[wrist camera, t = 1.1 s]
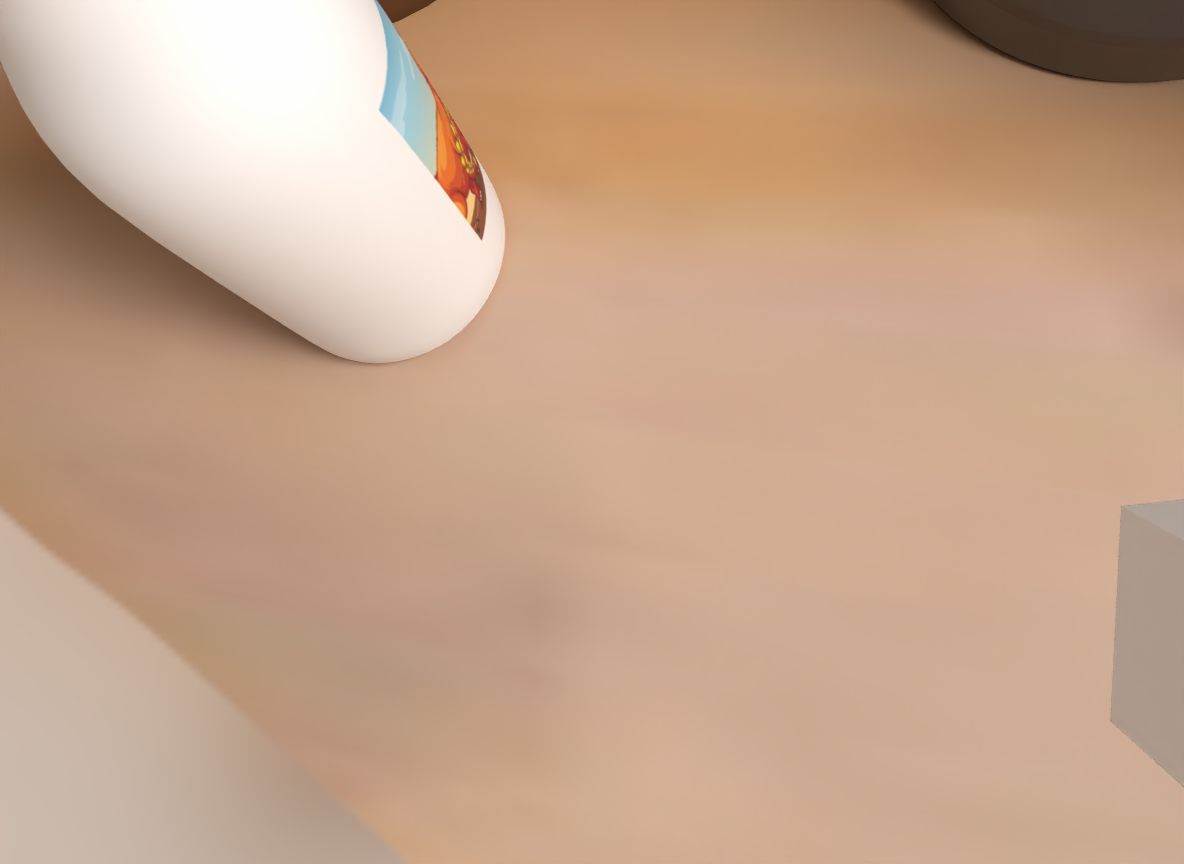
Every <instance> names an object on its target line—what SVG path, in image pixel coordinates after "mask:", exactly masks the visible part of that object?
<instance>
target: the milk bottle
mask: <svg viewBox="0 0 1184 864" xmlns="http://www.w3.org/2000/svg"><path fill="white" fill-rule="evenodd" d="M0 62H1V64H2V66H3V69H4V71H5V73H6V76H7V78H8V80H9V82H10V84H11V86H12V88H13V90H14V92H15V94H16V96H17V98H18V100H19V103H20V105H21V107H22V109H23V110H24V112H25V113H26V115H27V117H28V118H29V120H30V121H31V123H32V124H33V126H34V127H35V129H36V131H37V132H38V134H39V135H40V137H41V138H42V140H43V141H44V142H45V143H46V145H47V146H48V147H49V148H50V150H51V151H52V152H53V153H54V154H55V156H56V157H57V158H58V159H59V160H60V162H61V163H62V164H63V165H64V166H65V167H66V169H67V170H68V171H70V172H71V173H72V174H73V175H74V176H75V177H76V178H77V179H78V180H79V181H80V182H81V183H82V184H83V185H84V186H85V187H86V188H87V189H88V190H89V191H91V192H92V193H93V194H94V195H95V196H96V197H97V198H98V199H99V200H101V201H102V202H103V203H105V204H106V205H107V206H108V207H110V208H111V209H112V210H114V211H115V212H117V213H118V214H119V215H121V216H122V217H123V218H125V219H126V220H127V221H129V222H130V223H131V224H133V225H134V226H136V227H137V228H138V229H140V230H141V231H142V232H144V233H145V234H146V235H148V236H149V237H151V238H152V239H153V240H155V241H156V242H158V243H159V244H161V245H162V246H164V247H165V248H167V249H168V250H170V251H171V252H173V253H174V254H176V255H177V256H179V257H180V258H182V259H183V260H185V261H186V262H188V263H189V264H191V265H192V266H194V267H195V268H197V269H198V270H200V271H201V272H203V273H204V274H206V275H207V276H209V277H210V278H212V279H213V280H215V281H216V282H218V283H219V284H221V285H222V286H224V287H226V288H227V289H229V290H230V291H232V292H233V293H235V294H236V295H238V296H239V297H241V298H243V299H244V300H246V301H247V302H249V303H250V304H252V305H253V306H255V307H256V308H258V309H260V310H261V311H263V312H264V313H266V314H267V315H269V316H270V317H272V318H273V319H275V320H277V321H278V322H280V323H281V324H283V325H284V326H286V327H288V328H289V329H291V330H292V331H294V332H295V333H297V334H299V335H300V336H302V337H303V338H305V339H307V340H308V341H310V342H311V343H313V344H315V345H317V346H319V347H320V348H322V349H324V350H326V351H328V352H330V353H332V354H334V355H337V356H339V357H342V358H345V359H349V360H353V361H357V362H365V363H389V362H397V361H402V360H406V359H410V358H413V357H417V356H419V355H422V354H424V353H427V352H429V351H431V350H433V349H435V348H437V347H439V346H440V345H442V344H444V343H445V342H447V341H449V340H450V339H451V338H452V337H454V336H455V335H456V334H458V333H459V332H460V331H461V330H462V329H464V328H465V327H466V326H467V325H468V324H469V322H470V321H471V320H472V319H473V318H474V317H475V316H476V314H477V313H478V312H479V311H480V310H481V308H482V307H483V305H484V303H485V302H486V300H487V298H488V297H489V295H490V293H491V291H492V289H493V287H494V285H495V282H496V280H497V277H498V275H499V271H500V268H501V265H502V260H503V255H504V246H505V226H504V217H503V213H502V208H501V205H500V202H499V199H498V196H497V194H496V192H495V190H494V187H493V185H492V184H491V182H490V180H489V178H488V176H487V174H486V172H485V171H484V169H483V167H482V166H481V164H480V162H479V161H478V159H477V157H476V156H475V154H474V153H473V151H472V149H471V148H470V146H469V144H468V143H467V141H466V140H465V138H464V136H463V135H462V133H461V131H460V130H459V128H458V127H457V125H456V123H455V122H454V120H453V119H452V117H451V115H450V114H449V112H448V110H447V109H446V107H445V106H444V104H443V102H442V101H441V99H440V98H439V96H438V94H437V93H436V91H435V90H434V88H433V86H432V85H431V83H430V82H429V80H428V78H427V77H426V75H425V74H424V72H423V71H422V69H421V67H420V66H419V64H418V63H417V61H416V60H415V58H414V56H413V55H412V53H411V52H410V50H409V49H408V47H407V46H406V44H405V42H404V41H403V39H402V38H401V36H400V35H399V33H398V32H397V30H396V28H395V27H394V25H393V24H392V22H391V21H390V19H389V17H388V16H387V14H386V13H385V11H384V10H383V8H382V7H381V6H380V4H379V3H378V1H377V0H0Z"/></svg>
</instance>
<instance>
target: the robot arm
mask: <svg viewBox="0 0 1184 864" xmlns="http://www.w3.org/2000/svg"><path fill="white" fill-rule="evenodd" d="M934 1H935V2H936V3H937V4H938V5H939V6H940V7H941V9H943V10H944V11H945V12H946V13H947V14H948V15H949V16H950V17H952V18H953V19H954V20H955V21H956V22H958V23H959V24H960V25H961V26H963V27H964V28H965V29H967V30H968V31H969V32H971V33H972V34H974V35H975V36H977V37H979V38H980V39H982V40H983V41H985V42H986V43H988V44H990V45H992V46H994V47H996V48H997V49H999V50H1001V51H1003V52H1005V53H1007V54H1010V55H1012V56H1014V57H1016V58H1018V59H1021V60H1023V61H1026V62H1029V63H1031V64H1034V65H1036V66H1040V67H1043V68H1046V69H1049V70H1053V71H1056V72H1060V73H1065V74H1069V75H1073V76H1078V77H1084V78H1090V79H1097V80H1107V81H1119V82H1157V81H1168V80H1179V79H1184V0H934ZM1110 721H1111V722H1112V723H1113V724H1114V725H1115V726H1116V727H1117V728H1119V729H1120V730H1121V731H1122V732H1123V733H1124V734H1125V735H1126V736H1127V737H1128V738H1130V739H1131V740H1132V741H1133V742H1134V743H1135V744H1136V745H1137V746H1138V747H1140V748H1141V749H1142V750H1143V751H1144V752H1145V753H1146V754H1147V755H1148V756H1150V757H1151V758H1152V759H1153V760H1154V761H1155V762H1156V763H1157V764H1158V765H1159V766H1161V767H1162V768H1163V769H1164V770H1165V771H1166V772H1167V773H1168V774H1169V775H1171V776H1172V777H1173V778H1174V779H1175V780H1176V781H1177V782H1178V783H1179V784H1181V785H1182V786H1183V787H1184V500H1175V501H1166V502H1156V503H1147V504H1137V505H1128V506H1121V520H1120V540H1119V559H1118V579H1117V599H1116V618H1115V638H1114V658H1113V678H1112V697H1111V717H1110Z"/></svg>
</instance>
